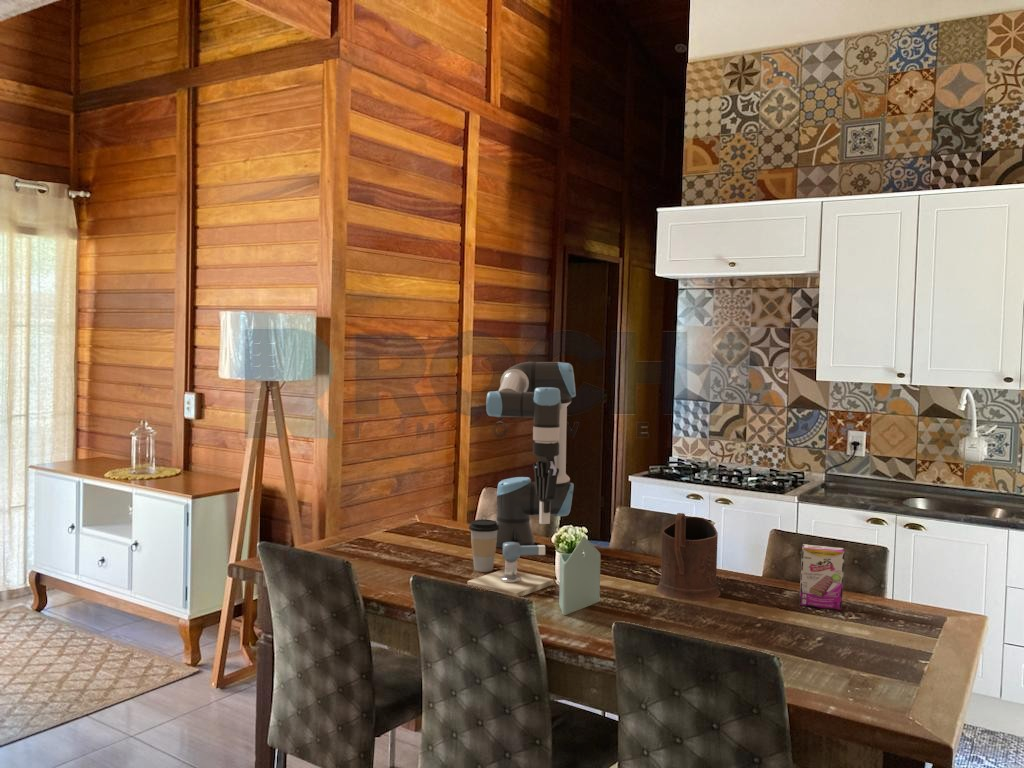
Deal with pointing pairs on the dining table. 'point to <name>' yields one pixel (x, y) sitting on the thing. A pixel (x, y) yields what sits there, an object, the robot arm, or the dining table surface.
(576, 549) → the planter
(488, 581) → the base board
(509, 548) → the cap
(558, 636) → the dining table surface
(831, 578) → the candy bar box
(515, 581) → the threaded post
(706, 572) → the rusty brown jug
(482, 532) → the coffee cup
